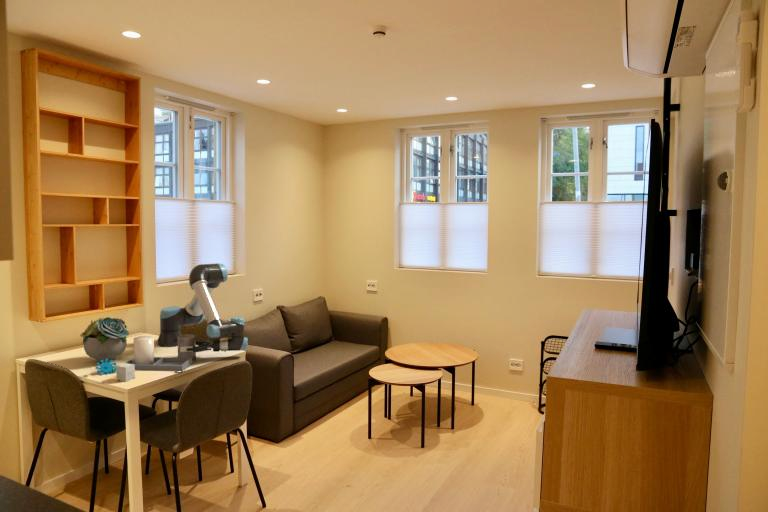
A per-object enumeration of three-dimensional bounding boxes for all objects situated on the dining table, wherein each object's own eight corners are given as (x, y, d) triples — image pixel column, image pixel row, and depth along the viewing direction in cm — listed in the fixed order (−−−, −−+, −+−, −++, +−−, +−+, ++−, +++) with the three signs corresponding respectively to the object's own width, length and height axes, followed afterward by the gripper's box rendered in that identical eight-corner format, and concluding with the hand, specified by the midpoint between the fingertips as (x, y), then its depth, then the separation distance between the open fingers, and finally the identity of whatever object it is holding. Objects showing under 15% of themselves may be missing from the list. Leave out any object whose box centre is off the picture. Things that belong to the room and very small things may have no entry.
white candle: (138, 362, 289) (138, 335, 288) (156, 363, 289) (156, 336, 288) (130, 368, 279) (130, 340, 278) (149, 368, 279) (149, 340, 278)
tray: (135, 363, 292) (135, 356, 291) (191, 363, 293) (191, 357, 293) (122, 371, 276) (122, 364, 275) (182, 372, 277) (182, 365, 277)
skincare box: (135, 378, 265) (135, 364, 264) (125, 381, 259) (125, 367, 259) (125, 377, 267) (125, 362, 266) (116, 380, 261) (115, 365, 261)
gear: (95, 375, 263) (96, 357, 269) (93, 381, 267) (94, 363, 272) (119, 375, 269) (120, 358, 275) (117, 381, 273) (118, 364, 279)
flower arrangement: (131, 353, 310) (131, 312, 308) (128, 365, 287) (127, 321, 285) (83, 356, 301) (83, 314, 299) (75, 368, 278) (75, 323, 276)
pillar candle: (192, 356, 308) (191, 331, 307) (198, 360, 300) (198, 334, 299) (175, 359, 302) (174, 333, 300) (181, 363, 294) (180, 336, 293)
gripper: (220, 356, 294) (179, 358, 288) (219, 345, 318) (182, 347, 311) (220, 343, 294) (179, 345, 287) (220, 333, 317) (182, 335, 311)
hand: (180, 346), depth 299 cm, fingers open, 13 cm apart
